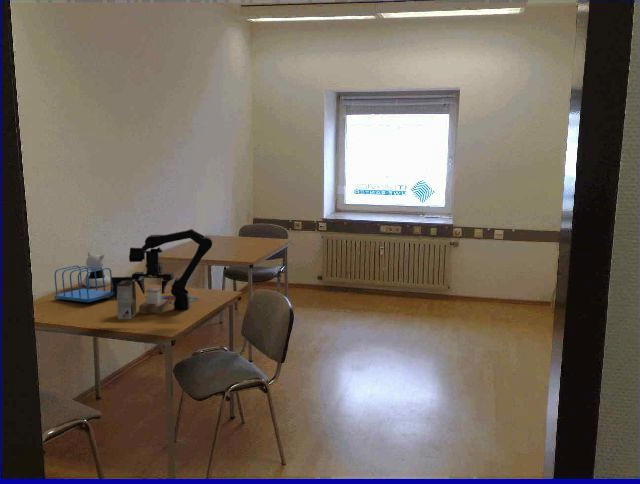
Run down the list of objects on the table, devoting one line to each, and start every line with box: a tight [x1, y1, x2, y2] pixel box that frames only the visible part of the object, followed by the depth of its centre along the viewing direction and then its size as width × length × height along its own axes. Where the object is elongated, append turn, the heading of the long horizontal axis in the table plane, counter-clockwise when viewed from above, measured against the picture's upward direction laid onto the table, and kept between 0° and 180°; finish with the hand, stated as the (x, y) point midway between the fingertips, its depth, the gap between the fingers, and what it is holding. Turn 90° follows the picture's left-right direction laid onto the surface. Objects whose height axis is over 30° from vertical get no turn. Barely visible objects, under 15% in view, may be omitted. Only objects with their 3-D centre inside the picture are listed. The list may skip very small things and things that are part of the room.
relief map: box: [145, 290, 202, 305], centre depth 292 cm, size 25×15×2 cm, turn 53°
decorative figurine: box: [82, 251, 111, 288], centre depth 319 cm, size 15×15×20 cm
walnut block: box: [138, 299, 169, 314], centre depth 270 cm, size 10×13×4 cm
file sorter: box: [53, 265, 114, 303], centre depth 291 cm, size 25×17×15 cm
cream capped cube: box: [145, 287, 162, 304], centre depth 269 cm, size 5×5×7 cm
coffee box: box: [116, 280, 137, 320], centre depth 257 cm, size 9×6×16 cm
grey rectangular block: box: [109, 276, 132, 298], centre depth 295 cm, size 11×4×10 cm, turn 102°
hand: (153, 293), depth 269 cm, fingers open, 9 cm apart
